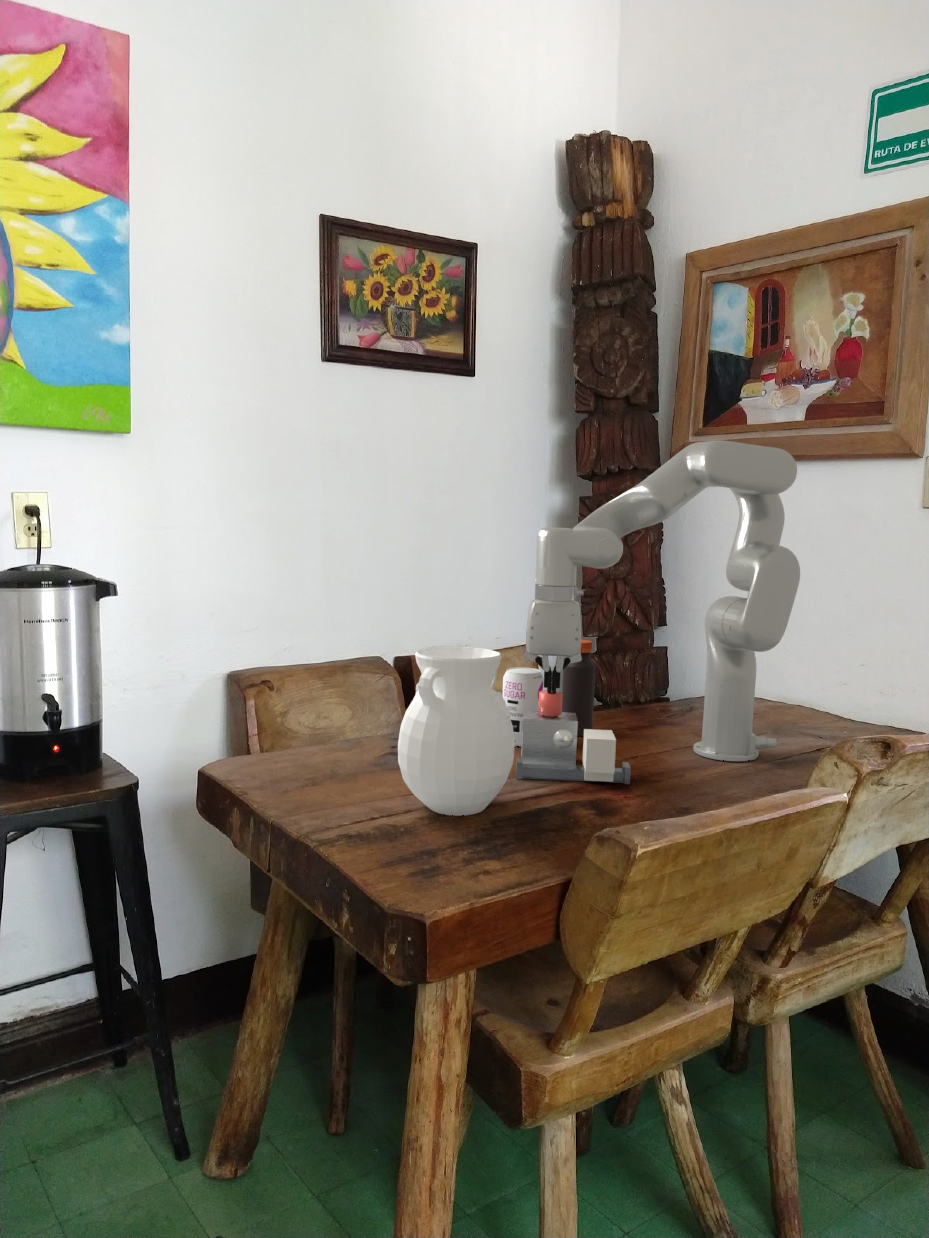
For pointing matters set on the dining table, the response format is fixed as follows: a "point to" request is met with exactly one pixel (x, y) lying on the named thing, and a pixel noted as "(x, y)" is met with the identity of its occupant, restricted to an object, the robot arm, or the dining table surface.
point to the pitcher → (456, 731)
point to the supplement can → (521, 695)
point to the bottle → (580, 688)
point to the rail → (565, 772)
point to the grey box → (549, 739)
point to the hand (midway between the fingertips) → (551, 691)
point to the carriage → (599, 755)
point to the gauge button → (550, 703)
